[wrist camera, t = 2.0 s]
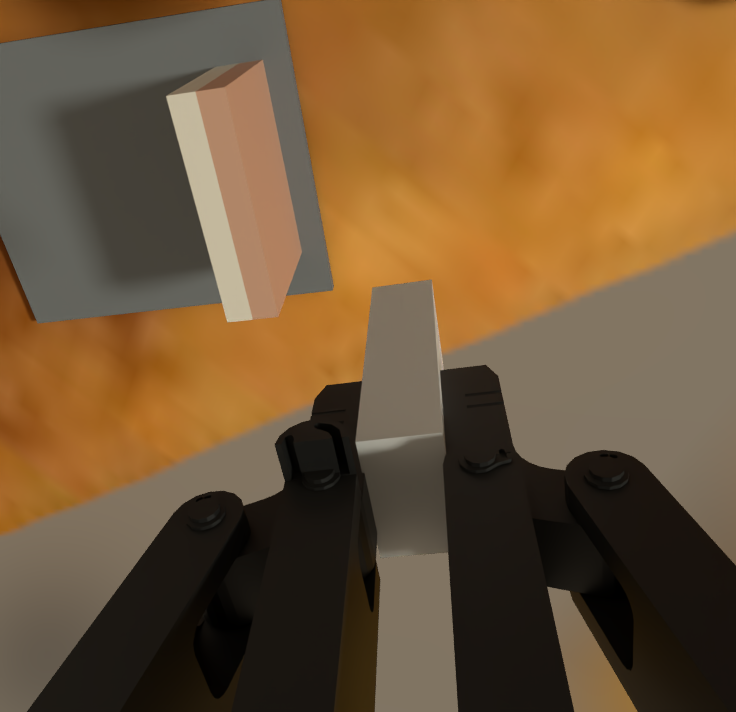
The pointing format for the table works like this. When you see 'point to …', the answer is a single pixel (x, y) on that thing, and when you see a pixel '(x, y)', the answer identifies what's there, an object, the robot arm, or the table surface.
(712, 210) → the table surface
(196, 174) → the tile
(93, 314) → the mat
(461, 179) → the table surface
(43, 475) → the table surface
